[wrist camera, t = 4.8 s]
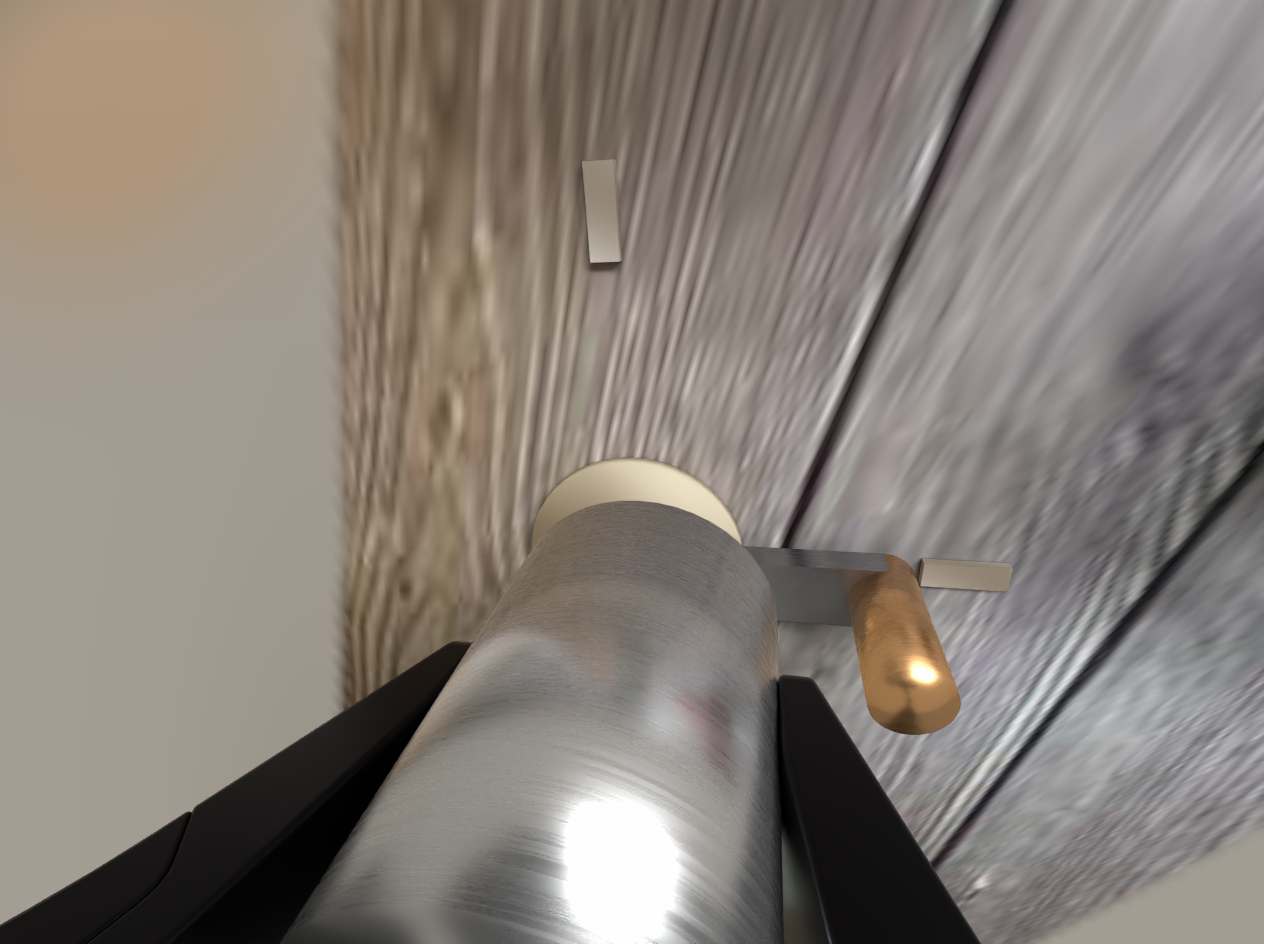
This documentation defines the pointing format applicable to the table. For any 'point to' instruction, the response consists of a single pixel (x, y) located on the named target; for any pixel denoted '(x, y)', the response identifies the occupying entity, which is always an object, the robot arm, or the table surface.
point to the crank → (871, 628)
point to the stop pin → (587, 759)
